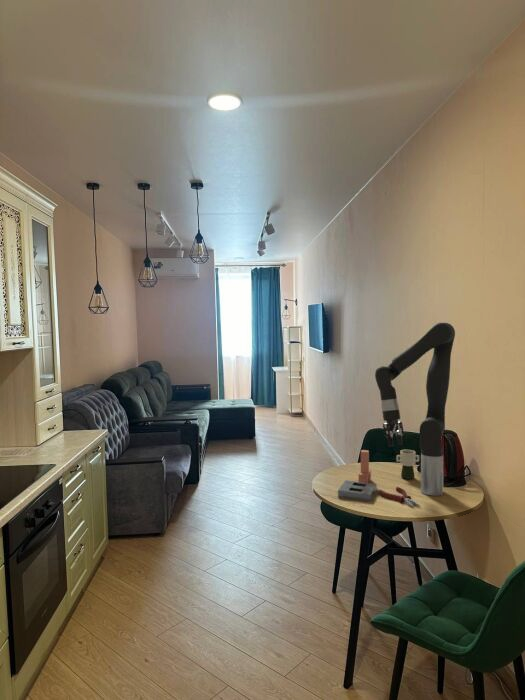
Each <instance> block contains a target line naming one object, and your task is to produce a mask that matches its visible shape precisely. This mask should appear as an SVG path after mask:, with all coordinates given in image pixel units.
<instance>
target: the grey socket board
mask: <svg viewBox="0 0 525 700" xmlns="http://www.w3.org/2000/svg"><path fill="white" fill-rule="evenodd" d="M341 484H342V485H340V487H339V489H338V490H337V497H338V498H341V497H344V498H343V499H348V498H349V500H355V499H357V500H356V501H362V500H363V501H364V502H369V501H371V502H372V500H373V498H374V496H375V494H376V492H377V483H370V482H368V483H364V482H359V481H356V480H355V481H354V480H348V479H345V481H344V482H343V483H341Z"/></svg>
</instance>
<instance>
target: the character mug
mask: <svg viewBox="0 0 525 700" xmlns="http://www.w3.org/2000/svg"><path fill="white" fill-rule="evenodd" d="M396 462H397V463H400V464H401V465H402V466H401V475H400V476H401V478H404V479H410V480H411V479H414V478H415V469H414V466H415V465H416V463H419V462H420V454H419V455H418V454H417V453H416V451H415V450H412V449H401V450H400V454H397V455H396Z"/></svg>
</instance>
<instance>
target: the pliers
mask: <svg viewBox="0 0 525 700" xmlns="http://www.w3.org/2000/svg"><path fill="white" fill-rule="evenodd" d="M395 491H396V492H398V493H400V494H401V495H402V496H401V495H398V494H394V493H389V492H386V491H384V490H382V489H378V491H377V493H378V495H379V496H380V497H382V498H384V499H388V500H392V501H395V500H396V501H397V502H399V503H400V504H402V503H404V504H405V505H407V506H409V507H411V508H416V507H421V505H420V504H418V503H417V502H416V501H414V500H413V499H412V497H411V496H410V495H407V492H406V490H404V488H401V487H398V486H396V487H395ZM396 501H395V502H396Z"/></svg>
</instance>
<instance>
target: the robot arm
mask: <svg viewBox="0 0 525 700" xmlns="http://www.w3.org/2000/svg"><path fill="white" fill-rule="evenodd" d="M455 338H456V330H455V327H454V326H453V325H452V324H451V323H448V322H438V323H435V324H434V325H433V326H432V327H431V328H430V329H429V330H428V331H427V332H426V333H425V334H424V335H423V336H422V337H421V338H419V340H417V341H416V342H415V343H414V344H412V345H411V346H410V347H408V348H406V349H405V350H403V351H402V352H400V353H399V354H398V355H396V356H395V357H394V358H393V359H392V361H391V363H390V364H388V365H387V366H383V365H382V366H379V367H378V368H376V369H375V371H374V373H375V374H374V375H375V376H374V377H375V380H376V381H375V382H376V383H377V387H378V390H379V394H380V400H381V404H380V405H381V411H382V419H383V421H385V423H382V428H383V435H384V438H386V439H387V444H388V447H390V448H391V447H392V448H393V447H394V446H395V443H394V438H393V437H394V434H395V435H396V441H397V446H400V445H401V446H402V445H403V444H404V443H403V435H405V431H404V426H403V422H402V421H399V420H401V412H400V407H399V403H398V397H397V391H396V388H395V387H394V386H393V385H392V381H393V380H395V379H396V378H397V377H398V376H400V375H401V373H403V371H405V370H407V369H408V368H410V367H411V366H413V365H414V364H415V363H416V362H417V361H419V360H420V359H421V358H422V357H423V356H425V354H426V353H429V351H431V350H433V354H432V358H431V360H430V362H429V363H430V364H429V366H428V370H427V375H426V381H425V382H426V383H425V391H426V392H425V393H426V399H427V410H426V415H425V416H426V417H425V419H424V420H423V421H421V423H420V426H419V448H420V492H421V493H422V494H424V495H427V496H434V497H436V496H438V497H439V496H443V495H444V448H443V447H442V446H443V443H442V442H443V441H442V436H443V434H444V433H445V429H446V422H445V421H446V413H445V412H446V404H447V399H448V394H449V393H448V392H449V387H450V376H451V356H452V352H453V351H452V350H453V345H454V342H455V341H454V340H455Z"/></svg>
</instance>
